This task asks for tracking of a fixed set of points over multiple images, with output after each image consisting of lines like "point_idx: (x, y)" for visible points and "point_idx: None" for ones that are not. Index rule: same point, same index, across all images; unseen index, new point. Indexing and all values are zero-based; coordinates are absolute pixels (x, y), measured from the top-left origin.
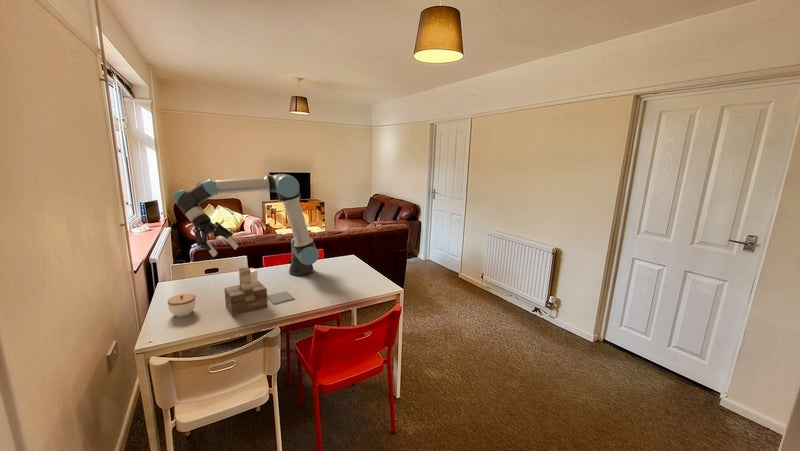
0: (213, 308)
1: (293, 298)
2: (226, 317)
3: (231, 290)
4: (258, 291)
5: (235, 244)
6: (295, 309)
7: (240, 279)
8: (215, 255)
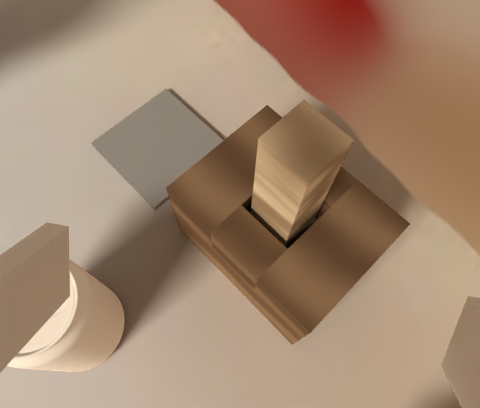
0: (318, 401)
1: (169, 92)
2: (382, 280)
3: (333, 267)
4: None
5: (43, 253)
6: (255, 62)
7: (314, 197)
8: (452, 343)
